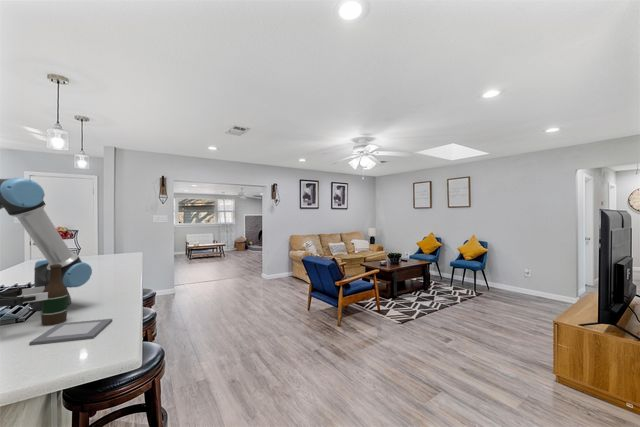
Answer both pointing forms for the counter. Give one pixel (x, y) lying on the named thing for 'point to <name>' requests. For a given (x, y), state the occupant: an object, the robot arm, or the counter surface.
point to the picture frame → (72, 331)
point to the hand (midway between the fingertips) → (46, 292)
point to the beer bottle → (54, 299)
